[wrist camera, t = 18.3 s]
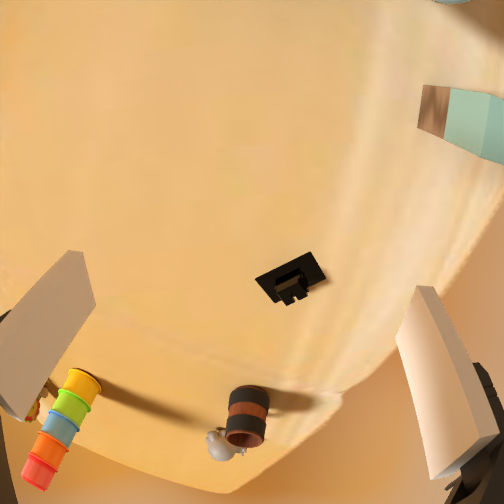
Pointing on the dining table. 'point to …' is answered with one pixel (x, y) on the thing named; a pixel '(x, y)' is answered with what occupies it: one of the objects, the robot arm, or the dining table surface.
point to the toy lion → (36, 406)
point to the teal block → (476, 124)
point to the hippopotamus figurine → (221, 446)
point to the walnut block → (434, 110)
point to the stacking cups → (60, 428)
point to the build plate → (291, 279)
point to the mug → (247, 417)
